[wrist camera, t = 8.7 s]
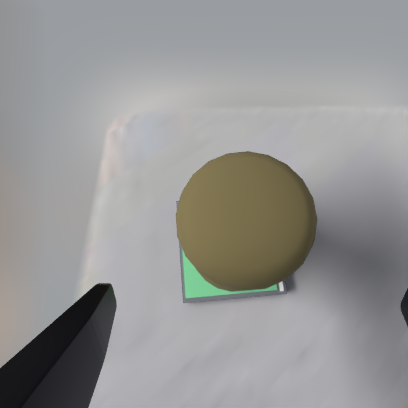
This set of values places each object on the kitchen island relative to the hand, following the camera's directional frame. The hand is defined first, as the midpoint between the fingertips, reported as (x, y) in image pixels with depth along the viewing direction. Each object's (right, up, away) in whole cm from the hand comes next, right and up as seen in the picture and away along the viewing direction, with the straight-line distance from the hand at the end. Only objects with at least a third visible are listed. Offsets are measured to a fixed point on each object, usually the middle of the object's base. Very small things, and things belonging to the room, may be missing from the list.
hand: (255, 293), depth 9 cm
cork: (0, 0, +11) cm, 11 cm away
